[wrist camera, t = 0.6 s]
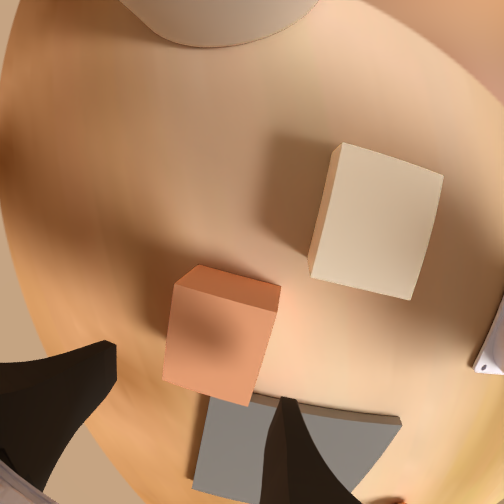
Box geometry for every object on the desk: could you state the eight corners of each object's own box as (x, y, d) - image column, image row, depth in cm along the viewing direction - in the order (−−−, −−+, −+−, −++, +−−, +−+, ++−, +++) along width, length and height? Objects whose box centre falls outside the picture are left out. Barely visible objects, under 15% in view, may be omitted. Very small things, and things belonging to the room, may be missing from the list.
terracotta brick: (281, 285, 18) (276, 312, 14) (257, 368, 19) (247, 406, 15) (199, 263, 18) (174, 283, 14) (184, 347, 19) (162, 379, 16)
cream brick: (413, 177, 15) (444, 175, 11) (387, 276, 17) (410, 300, 13) (331, 152, 16) (342, 142, 12) (307, 257, 17) (310, 277, 13)
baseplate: (399, 417, 18) (402, 425, 17) (331, 506, 21) (331, 513, 20) (215, 382, 19) (211, 391, 18) (194, 481, 23) (191, 488, 22)
